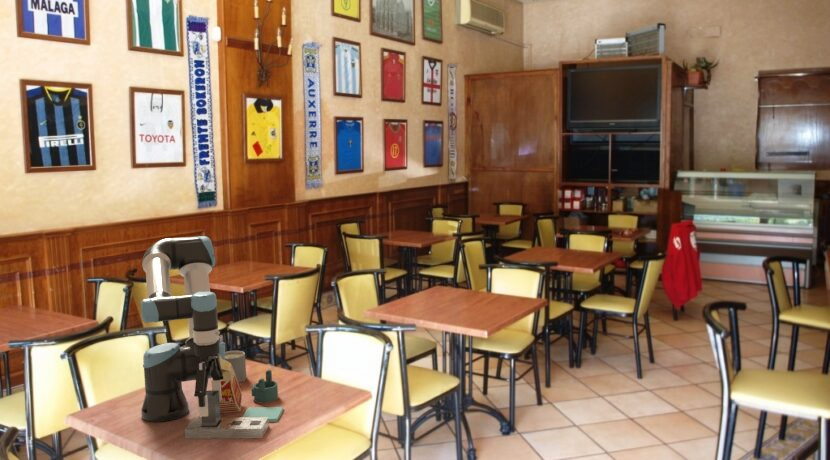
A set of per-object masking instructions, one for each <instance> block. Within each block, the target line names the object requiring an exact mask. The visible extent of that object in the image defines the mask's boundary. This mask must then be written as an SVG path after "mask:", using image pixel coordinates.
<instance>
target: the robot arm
mask: <svg viewBox="0 0 830 460" xmlns="http://www.w3.org/2000/svg"><path fill="white" fill-rule="evenodd" d="M141 260H142V262H141V263H142V265H141V266H142V269H143V272H145V281H146V282H145V283H146V298H143V299H142V300H141V302H140V307H141V319H142V322H144V323H159V322H166V321H167V322H168V321H169V322H170V321H174V320H175V321H176V320H187V326H188V338H187V339H186V340H185V346H180V343H177V342H166V343H162V344H158V345H155V346H152V347H149V349H147V350H145V352H144V354H143V358H142V360H143V364H142V368H143V375H144V390H145V394H144V395H145V396H144V399H143V404H142V407H141V412H140V413H141V418H142V419H143V420H144V421H147V422H152V423H160V422H168V421H173V420H176V419H179V418H182V417H183V416H185V415H187V413H189V410H190V409H189V402H188V400H187V397H186V395H185V393H184V391H183V385H182V382H188V381H189V382H190V381H195V384H194V385H195V386H194V394H193V395H194V397H197V406H198V407H197V409H198V418H201V416H208V400H207V395H206V391H208V384H209V379H210V380H211V379H212V380H211V391H219V400H222V396H221V380H222V379H223V376H222V375H223V373H222V369H221V365H220V361H219V357H220V355H221V357H222V359H224V360H225V352H226V343H225V342H223V341H221V338H220V336H219V335H220V333H221V331H219V322H218V321H219V320H218V319H219V318H218V302H217V301H218V300H217V295H216V293H215V292H212V291H211V287H210V278H209V274H210V273H211V272H212V270H213V267H215V265H216V256H215V250H214V246H213V242H212V240H211V239H210V237H209V236H206V235H205V236H204V235H203V236H200V235H195V236H185V237H183V236H182V237H172V238H171V237H168V238H163V239H159V240H158V241H156V242H154V243H153V244H152V245H150V247H148V249H147V250H146V251H145V253H144V255H143V257H142V259H141ZM170 270H178V273H179V275H180V276H181V277H183V279H184V281H183V283H184V292H185V293H184V294H185V295H175V296H174V295H173V296H172V287H171V277H170Z"/></svg>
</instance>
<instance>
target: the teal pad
mask: <svg viewBox="0 0 830 460" xmlns="http://www.w3.org/2000/svg"><path fill="white" fill-rule="evenodd" d="M284 408H285V407H284V406H275V407H274V406H272V407H271V406H267V407H266V406H265V407H264V406H263V407H262V406H260V407H259V406H258V407H256V406H254V407H251V406H250V407H248V408H247V409H246V410H245V412H244V414H243V415H241V418H243V417H268V423H270V422H271V423H274V422H275V423H277V422H278V421H279V419H280V418H281V415H282V414H283V412H284V411H285V410H284Z"/></svg>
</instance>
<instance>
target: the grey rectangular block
mask: <svg viewBox="0 0 830 460" xmlns="http://www.w3.org/2000/svg"><path fill="white" fill-rule="evenodd" d="M206 395H207V400H208V416H201V417H200V418H201V419H202V427H218V425H219V424H220V423H221V419H220V418H221V413H220V402H219V391H212V390H207V391H206Z"/></svg>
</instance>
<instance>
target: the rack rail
mask: <svg viewBox="0 0 830 460" xmlns="http://www.w3.org/2000/svg"><path fill="white" fill-rule="evenodd" d="M220 419H221V423H220V424H219V425H218V427H202V419H201V417H194V418H192V420H191V421H190V422H189V424H188V425H186V427H185V428H184V431H183V432H184V439H186V440H193V439H194V440H196V439H197V440H198V439H201V440H202V439H204V440H205V439H209V440H211V439H262V438H263V436H264V435H265V433H266V431H267V430H268V428H269V426H270V425H269V422H268V417H243V418H242V417H220Z"/></svg>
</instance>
